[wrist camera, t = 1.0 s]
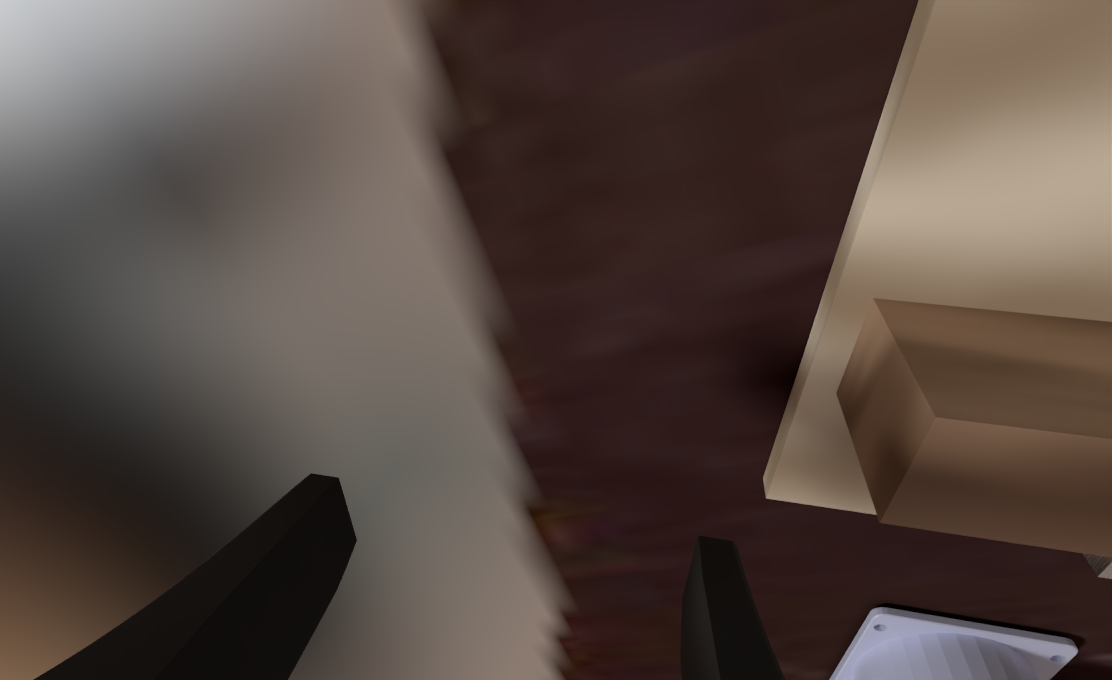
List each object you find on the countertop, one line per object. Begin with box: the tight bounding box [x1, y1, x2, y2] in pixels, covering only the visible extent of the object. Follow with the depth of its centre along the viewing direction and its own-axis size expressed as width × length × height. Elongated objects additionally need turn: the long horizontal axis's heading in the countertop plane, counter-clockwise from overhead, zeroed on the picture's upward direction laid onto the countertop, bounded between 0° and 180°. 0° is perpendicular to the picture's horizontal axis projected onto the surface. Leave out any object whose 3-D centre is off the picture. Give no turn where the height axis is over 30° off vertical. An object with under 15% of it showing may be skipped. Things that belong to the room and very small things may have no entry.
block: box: [836, 298, 1112, 558], centre depth 15 cm, size 4×7×5 cm, turn 89°
